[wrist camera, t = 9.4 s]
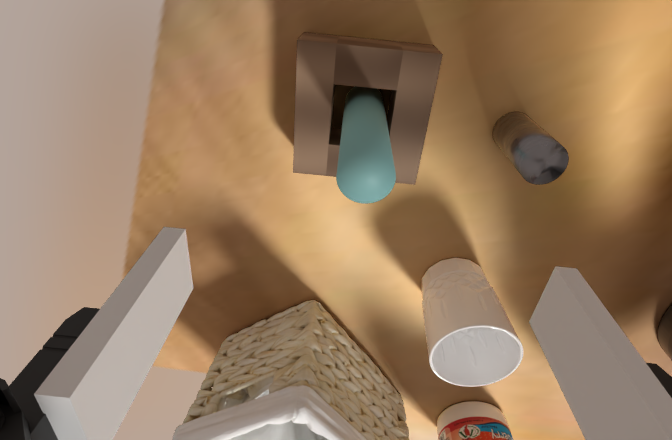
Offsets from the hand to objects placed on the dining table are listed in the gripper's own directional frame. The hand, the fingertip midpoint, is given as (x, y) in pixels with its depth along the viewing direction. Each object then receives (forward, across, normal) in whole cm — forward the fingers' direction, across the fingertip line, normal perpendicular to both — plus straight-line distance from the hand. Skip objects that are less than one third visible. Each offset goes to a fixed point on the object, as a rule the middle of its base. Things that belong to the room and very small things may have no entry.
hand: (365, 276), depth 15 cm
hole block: (+22, 0, 0) cm, 22 cm away
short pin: (+22, -13, +1) cm, 26 cm away
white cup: (+23, -12, +18) cm, 31 cm away
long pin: (+22, 0, 0) cm, 22 cm away
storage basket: (+23, +2, +34) cm, 41 cm away
